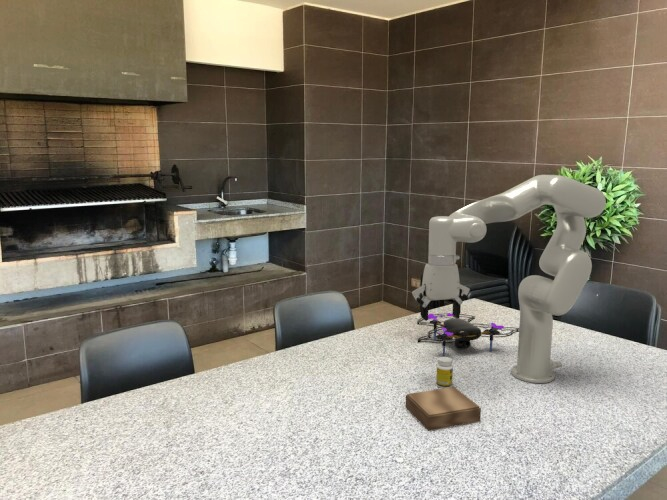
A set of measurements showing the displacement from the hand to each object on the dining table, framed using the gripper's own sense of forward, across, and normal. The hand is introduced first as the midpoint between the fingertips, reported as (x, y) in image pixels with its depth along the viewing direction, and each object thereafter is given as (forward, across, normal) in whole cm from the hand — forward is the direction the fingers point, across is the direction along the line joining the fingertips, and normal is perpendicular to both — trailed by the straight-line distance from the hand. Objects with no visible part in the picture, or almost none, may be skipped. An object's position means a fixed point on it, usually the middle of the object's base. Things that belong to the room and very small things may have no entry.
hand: (440, 317), depth 151 cm
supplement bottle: (+22, -2, 0) cm, 22 cm away
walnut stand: (+21, +6, +16) cm, 27 cm away
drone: (+22, -20, -31) cm, 43 cm away
